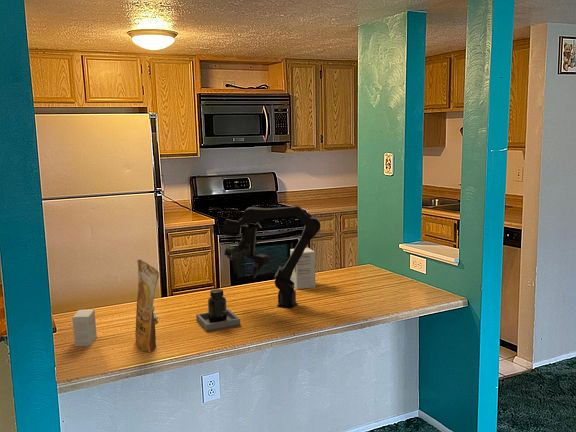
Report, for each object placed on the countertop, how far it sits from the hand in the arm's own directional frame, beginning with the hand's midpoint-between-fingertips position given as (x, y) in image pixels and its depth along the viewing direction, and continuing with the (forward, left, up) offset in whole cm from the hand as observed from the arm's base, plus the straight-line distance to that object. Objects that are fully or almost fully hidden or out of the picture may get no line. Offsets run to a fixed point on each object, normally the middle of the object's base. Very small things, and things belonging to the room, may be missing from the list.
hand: (244, 275), depth 223 cm
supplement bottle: (-1, +21, -12) cm, 25 cm away
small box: (+30, +56, -13) cm, 65 cm away
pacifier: (+24, +31, -13) cm, 41 cm away
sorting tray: (-1, +21, -13) cm, 25 cm away
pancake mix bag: (+9, +48, -13) cm, 51 cm away
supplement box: (-8, -36, -13) cm, 39 cm away
